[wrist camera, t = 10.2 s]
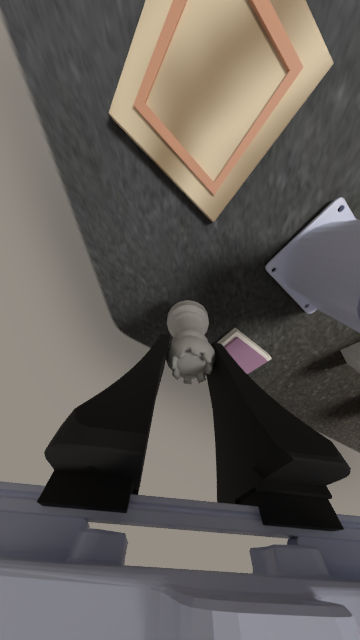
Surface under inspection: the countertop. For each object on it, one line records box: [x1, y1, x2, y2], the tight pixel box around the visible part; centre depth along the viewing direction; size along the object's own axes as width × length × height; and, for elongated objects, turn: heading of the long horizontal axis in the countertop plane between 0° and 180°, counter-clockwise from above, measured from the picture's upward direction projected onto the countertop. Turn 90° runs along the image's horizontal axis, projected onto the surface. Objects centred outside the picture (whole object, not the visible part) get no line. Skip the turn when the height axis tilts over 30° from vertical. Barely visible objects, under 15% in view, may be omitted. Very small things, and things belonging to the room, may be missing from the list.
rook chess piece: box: [166, 300, 215, 384], centre depth 12 cm, size 4×4×8 cm
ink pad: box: [217, 328, 272, 374], centre depth 23 cm, size 8×6×2 cm
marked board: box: [109, 0, 333, 223], centre depth 10 cm, size 11×11×1 cm
